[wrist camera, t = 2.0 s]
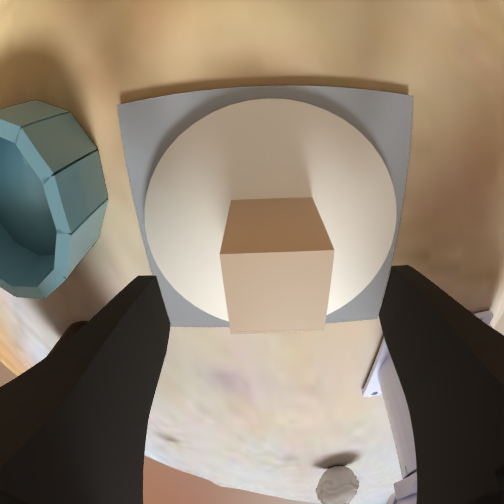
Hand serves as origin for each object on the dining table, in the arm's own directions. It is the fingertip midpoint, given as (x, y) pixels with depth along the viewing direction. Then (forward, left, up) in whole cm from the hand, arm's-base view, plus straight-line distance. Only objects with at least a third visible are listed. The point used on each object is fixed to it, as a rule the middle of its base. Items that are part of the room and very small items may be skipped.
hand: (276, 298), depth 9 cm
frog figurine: (-9, +38, -5) cm, 40 cm away
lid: (0, 0, -5) cm, 5 cm away
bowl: (+12, -3, -5) cm, 13 cm away
